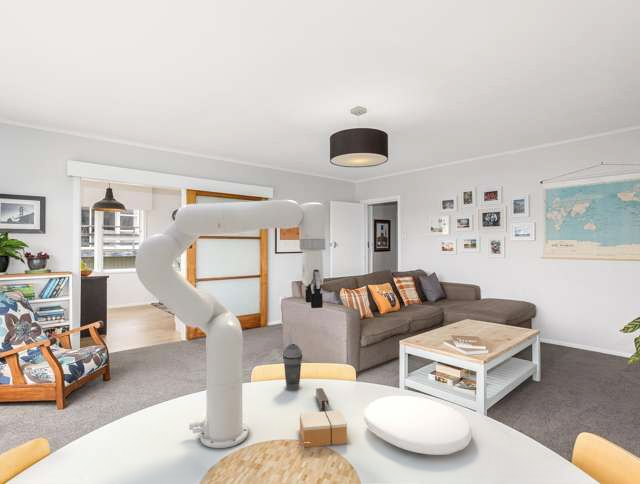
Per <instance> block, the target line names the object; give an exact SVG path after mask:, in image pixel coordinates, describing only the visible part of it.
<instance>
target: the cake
mask: <svg viewBox="0 0 640 484" xmlns="http://www.w3.org/2000/svg"><path fill="white" fill-rule="evenodd" d="M299 434H300V437H301V441H302V445H303V448H310V447H316V446H315V445H318V446H317V447H321V446H330V445H332V444H331V425H330V423H329V421H328V418H327V416H326V412H325V411H314V412H301V413H299ZM303 441H304V442H310V443H304V442H303Z"/></svg>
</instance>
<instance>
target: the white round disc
mask: <svg viewBox="0 0 640 484" xmlns="http://www.w3.org/2000/svg"><path fill="white" fill-rule="evenodd" d="M363 420H364V423H365V425H366V427H367V428H368V430H369V431H370V432H371V433H373V434H374V435H375V436H377V437H379V438H380V439H382V440H383V441H385V442H387V443H389V444H391V445H393V446H395V447H397V448H399V449H403V450H405V451H409V452H413V453H417V454H423V455H431V456H432V455H433V456H442V455H444V456H446V455H451V454H454V453H456V452H459V451H462V450H463V449H465V448H466V447H467V446H469V444H470V442H471V440H472V435H473V434H472V433H473V432H472V428H471V425H470V422H469V421H468V420H467V418H466V416H464V414H462V413H461V412H460V411H457V410H455V409H454V408H452V407H450V406H448V405H446V404H444V403H440V402H438V401H434V400H431V399H427V398H423V397H417V396H412V395H411V396H410V395H390V396H384V397H380V398H378V399H375V400H374V401H372V402H370V404H368V405H367V406H366V407H365V409H364V410H363Z"/></svg>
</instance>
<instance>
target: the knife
mask: <svg viewBox="0 0 640 484" xmlns="http://www.w3.org/2000/svg"><path fill="white" fill-rule="evenodd" d="M315 397H316V400H317V403H318V405H319V407H320V410H321V412H325V413H326V411H331V409H330V407H329V406H330V405H329V399H328V396H327V394H326V392H325V390H324V389H323V387H319V388H317V387H316V388H315Z"/></svg>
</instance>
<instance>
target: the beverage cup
mask: <svg viewBox="0 0 640 484" xmlns="http://www.w3.org/2000/svg"><path fill="white" fill-rule="evenodd" d="M288 334H289V335H288V336H289V343H290V344H288V345H287V346H286V347H285V348H284V350H283V352H282V360H283V365H284V377H285V387H286V390H288V391H298V390H299V389H300V384H301V383H300V382H301V372H302V371H301V369H302V361H303V357H304V356H303V351H302V349H301V347H300V346H299V345H298V344H295V343H293V342H292V341H293V340H292V334H291V331H289V332H288Z"/></svg>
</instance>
